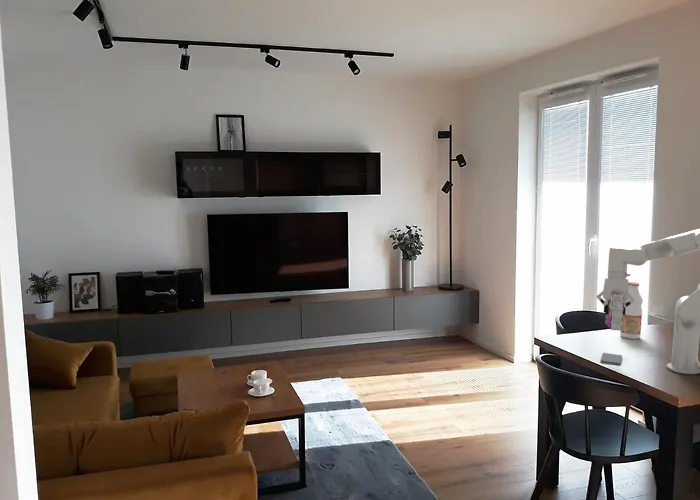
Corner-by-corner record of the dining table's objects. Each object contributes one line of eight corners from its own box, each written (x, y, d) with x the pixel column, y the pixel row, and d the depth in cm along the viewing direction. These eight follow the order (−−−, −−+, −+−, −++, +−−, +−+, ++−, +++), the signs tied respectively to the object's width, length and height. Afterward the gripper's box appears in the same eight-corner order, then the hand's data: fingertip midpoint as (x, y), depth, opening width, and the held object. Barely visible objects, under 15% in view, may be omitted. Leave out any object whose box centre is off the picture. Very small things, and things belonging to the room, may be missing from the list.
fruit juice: (615, 334, 302) (619, 281, 299) (631, 333, 305) (635, 281, 301) (628, 339, 293) (632, 284, 290) (644, 338, 296) (648, 284, 292)
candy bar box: (604, 323, 264) (607, 288, 262) (616, 324, 263) (619, 288, 261) (609, 329, 253) (612, 292, 251) (622, 330, 252) (625, 293, 250)
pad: (621, 357, 263) (622, 355, 263) (620, 365, 252) (620, 363, 252) (602, 354, 267) (602, 352, 267) (600, 362, 256) (600, 360, 255)
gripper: (639, 275, 254) (636, 315, 256) (596, 272, 262) (593, 311, 264) (638, 277, 248) (635, 319, 250) (595, 274, 255) (592, 314, 258)
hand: (614, 314), depth 257 cm, fingers closed on candy bar box, 5 cm apart
